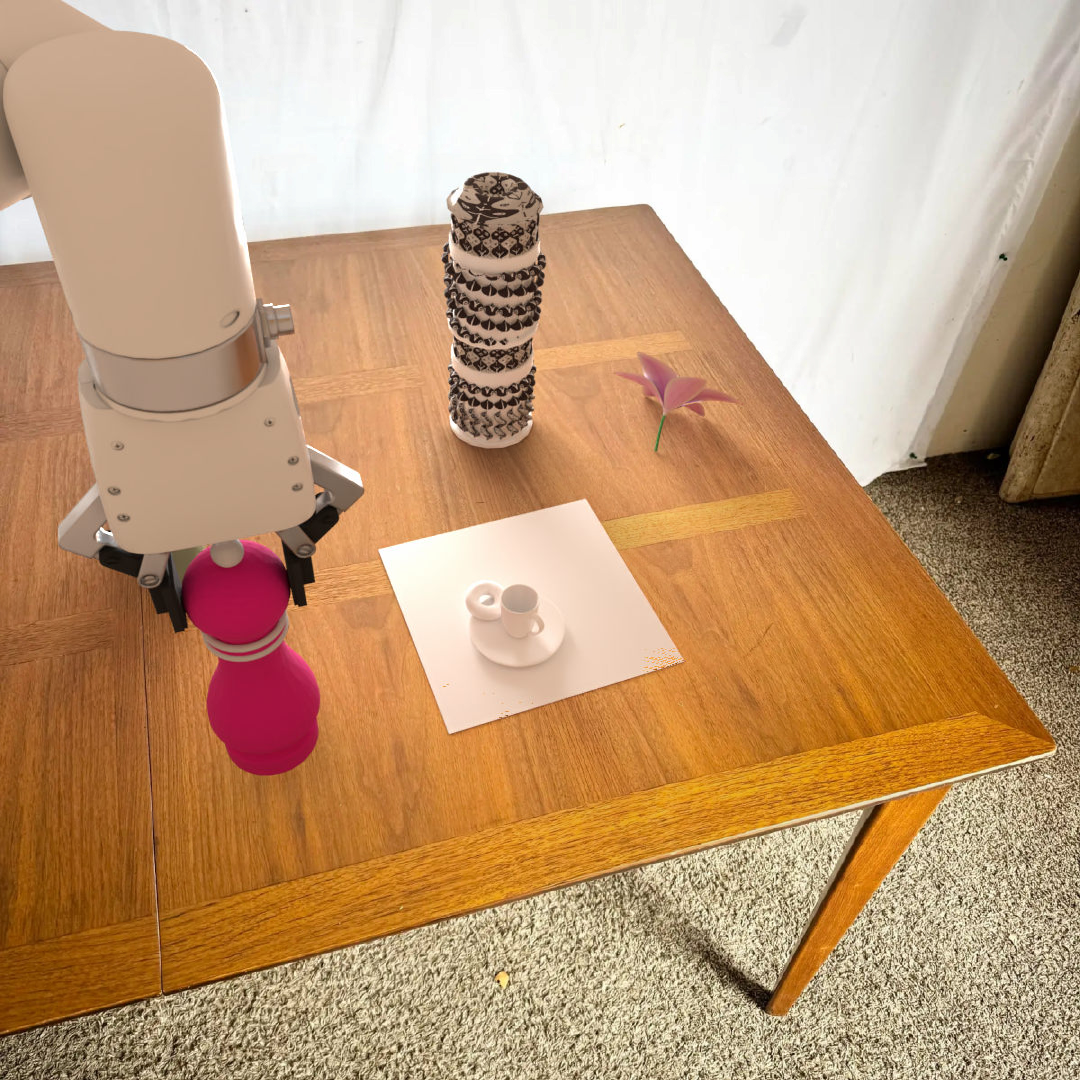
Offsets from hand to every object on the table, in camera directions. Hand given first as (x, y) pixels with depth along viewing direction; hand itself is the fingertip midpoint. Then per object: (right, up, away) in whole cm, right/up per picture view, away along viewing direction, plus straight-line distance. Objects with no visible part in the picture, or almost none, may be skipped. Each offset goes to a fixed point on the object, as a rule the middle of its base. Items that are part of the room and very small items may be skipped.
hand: (238, 599), depth 56 cm
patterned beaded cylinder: (+12, +15, +42) cm, 46 cm away
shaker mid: (-13, +1, +26) cm, 29 cm away
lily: (+30, +15, +43) cm, 55 cm away
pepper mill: (-1, -10, +11) cm, 15 cm away
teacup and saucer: (+16, -2, +25) cm, 30 cm away
